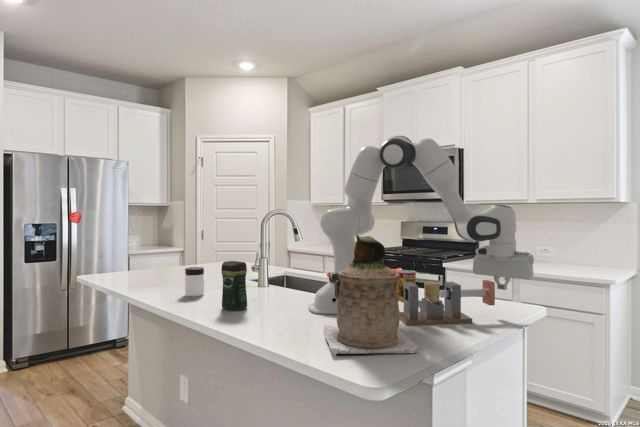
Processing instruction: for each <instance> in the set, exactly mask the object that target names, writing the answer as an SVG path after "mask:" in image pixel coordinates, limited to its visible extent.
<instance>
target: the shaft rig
mask: <svg viewBox="0 0 640 427" xmlns="http://www.w3.org/2000/svg"><path fill="white" fill-rule="evenodd" d="M443 290H451V297H446V298H444V303H443V300H441V299H439V301H437V302H432V301H430V300H427V299H425V298H424V297H422V298H421V300H419V286H418V285H417V284H416V285H415V284H413V283H404V301H403V311H400V320H399V321H401V322H402V323H403V324H404V325H405V326H429V325H430V326H432V325H453V324H454V325H457V324H459V323H461V324H473V318H472V317H471V316H468V315H467V314H465V313H463V312H462V307H461V306H462V300H461V299H462V297H461V290H462V285H461V284H459V283H456V282H454V281H444V289H443Z"/></svg>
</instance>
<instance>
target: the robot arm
mask: <svg viewBox="0 0 640 427" xmlns="http://www.w3.org/2000/svg"><path fill="white" fill-rule="evenodd" d="M410 165H411V166H412V165H413V166H415V168H417V170H418V172H420V174H421V176H422V177H423V179H424V180H425V181H426V183H427V184H428V185H429V186H430V188H431V189H432V191H434V192H435V193H436V194H437V196H438V197H439V198H440V200H441V201H442V203H443V204H444V206H445V208H446V209H447V210H448V212H449V214H450V215H451V217H452V220H453V224H454V229H455V231H456V235H458V236H459V237H460V238H461V239H462V240H465V241H472V242H480V243H481V242H484V241H488V244H489V245H484V246H482V247H478V248H476V249H475V252H474V253H475V254H476V255H475V256H474V258H473V262H472V263H473V264H472V272H473V273H474V275H479V276H480V275H482V276H488V277H493V280H494V282H495V285H496V289H497V290H502V291H506V290H508V285H509V283H510V282H511V279H517V280H518V279H519V280H525V281H526V280H532V279H533V278H534V275H535V274H534V266H533V264H534V263H535V262H534V260H535V259H534V255H532V254H531V253H530V252H527V251H523V252H522V251H517V240H516V233H517V217H516V213H515V212H516V211H515V210H514V208H513V207H511V206H510V205H509V206H507V205H503V204H492V205H491V206H490V207H489V208H487V209H485V210H483V211H481V212H478V213H473V212H472V211H471V210H470V209H469V208H468V207H467V205H466V204H465V202H464V200H463V199H462V197H461V195H460V194H459V191H458V188H457V183H458V181H459V174H458V171H457V168H456V166H455V165H454V163H453V161H452V159H451V158H450V157H449V156H448V154H447V153H446V152H445V150H444V149H443V148H442V147H441V146H440V145H439V144H438V143H437V142H436V141H435V140H434V139H432V138H427V137H426V138H423V139H420V140H418V141H417V142H415V143H414V142H412V141H411V140H410V138H408V137H407V136H404V135H396V136H395V135H394V136H391V137H389V138H388V139H387V140H385V141H384V142H383V143H382V144H381V146H380V147H375V146H373V145H372V146H371V145H366V146H364V147H362V148H361V149H360V150H359V152H358V154H357V156H356V158H355V160H354V162H353V164H352V166H351V169H350V172H349V175H348V177H347V180H346V183H345V186H344V193H345V195H346V196H347V205H346V207H340V208H339V207H335V208H332V209H329V210H326V211H325V212H323V214H322V215H321V217H320V228H321V231H322V232H323V234H325V235H326V236H327V237H328V239H329V242H330V244H331V247H332V251H333V272H330V271H328V272H326V277H327V278H328V282H326V284H324V285H323V286H322V287H321V288H319V289H318V290H317V291H316V293H315V295H314V296H315V297H314V301H313V303H310V304H309V305H308V310H309V312H311V313H312V314H319V315H320V314H322V315H327V314H328V315H331V314H332V315H337V303H338V299H337V298H336V297H335V282H336V281H337V280H339V281H340V279H339V278H338V272H339V271H341V270H345V269H346V268H347V266H348V265H349V264H350V263H352V262H353V259H354V248H355V246H356V245H355V243H356V242H357V241H356V238H355V237H356V234H358V236H362V235H365V234H367V233H370V232H371V231H372V230H373V229H374V226H375V216H374V214H373V213H372V206H373V205H372V203H373V198H374V195H375V192H376V190H377V186H378V183H379V181H380V177H381V175H382V173H383V170H384V169H385V167H387V168H388V169H392V170H396V169H401V168H404V167H407V166H410ZM501 278H504V281H505V282H504V283H501V281H500V279H501Z"/></svg>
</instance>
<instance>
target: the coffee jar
mask: <svg viewBox="0 0 640 427" xmlns="http://www.w3.org/2000/svg"><path fill="white" fill-rule="evenodd" d="M247 273H248V268H247V263H246V262H245V261H239V260H237V261H236V260H228V261H223V263H221V276H222V294H221V296H222V297H221V307H222V309H223V310H228V311H241V310H245V309H246V308H248V298H247V297H248V296H247V284H246V277H247Z"/></svg>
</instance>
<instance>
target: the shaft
mask: <svg viewBox="0 0 640 427" xmlns="http://www.w3.org/2000/svg"><path fill="white" fill-rule="evenodd" d="M495 291H496V282H495V281H492V280H489V279H482V288H474V289H473V288H470V289H469V288H468V289H466V288H465V289H462V288H461V298H477V297H482V303H484V304H486V305H487V306H495V305H496V296H495V295H496V292H495ZM446 297H451V290H444V289H439V298H441V299H442V298H446Z"/></svg>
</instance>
